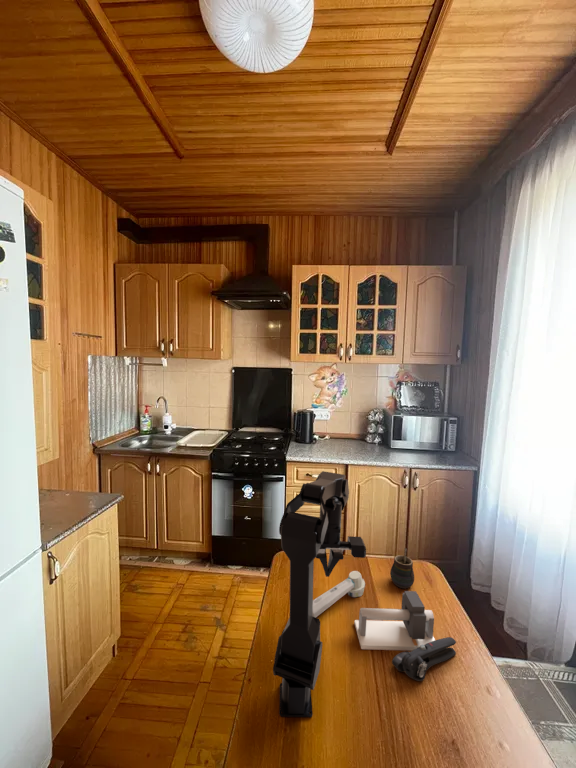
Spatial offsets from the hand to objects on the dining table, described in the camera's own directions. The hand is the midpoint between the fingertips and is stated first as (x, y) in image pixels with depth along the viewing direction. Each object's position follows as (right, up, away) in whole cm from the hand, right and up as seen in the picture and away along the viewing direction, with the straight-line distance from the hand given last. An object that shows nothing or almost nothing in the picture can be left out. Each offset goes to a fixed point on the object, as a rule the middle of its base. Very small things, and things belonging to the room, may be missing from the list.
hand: (327, 575), depth 92 cm
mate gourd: (+25, -12, +17) cm, 33 cm away
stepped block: (+21, -11, -4) cm, 24 cm away
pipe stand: (+17, -13, -4) cm, 22 cm away
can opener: (+22, -14, -12) cm, 29 cm away
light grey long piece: (+2, -12, +6) cm, 14 cm away
